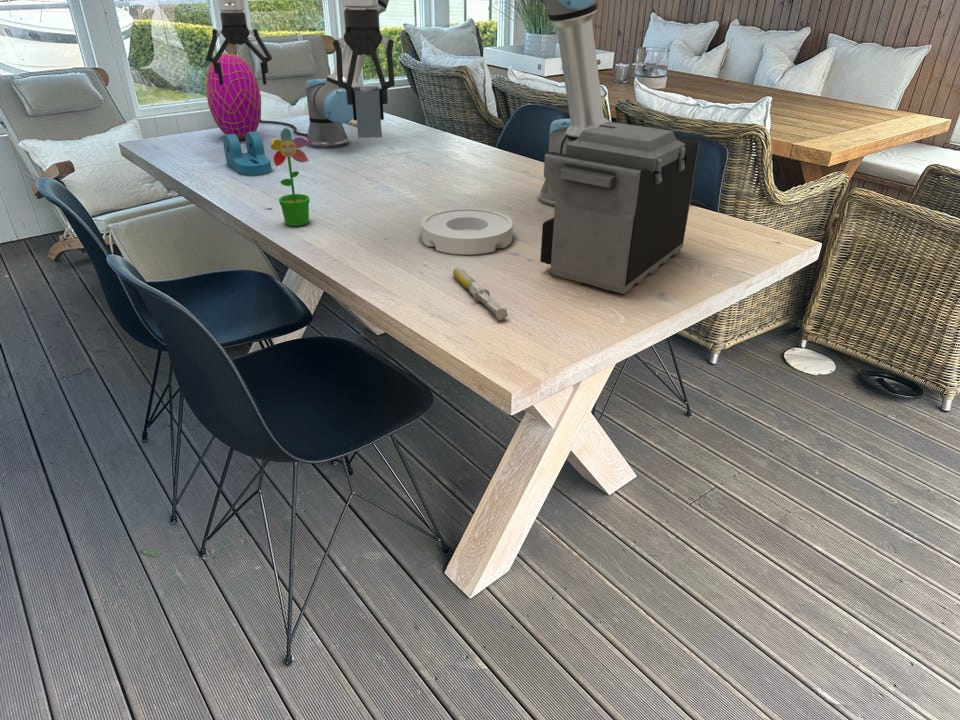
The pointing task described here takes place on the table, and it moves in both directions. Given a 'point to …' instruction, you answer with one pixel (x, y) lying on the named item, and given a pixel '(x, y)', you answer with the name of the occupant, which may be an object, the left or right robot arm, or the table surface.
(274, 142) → the potted flower
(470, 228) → the ashtray
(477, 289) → the syringe
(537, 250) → the table surface
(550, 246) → the electronic device
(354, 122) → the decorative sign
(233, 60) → the decorative egg
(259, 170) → the camera mount
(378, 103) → the block
